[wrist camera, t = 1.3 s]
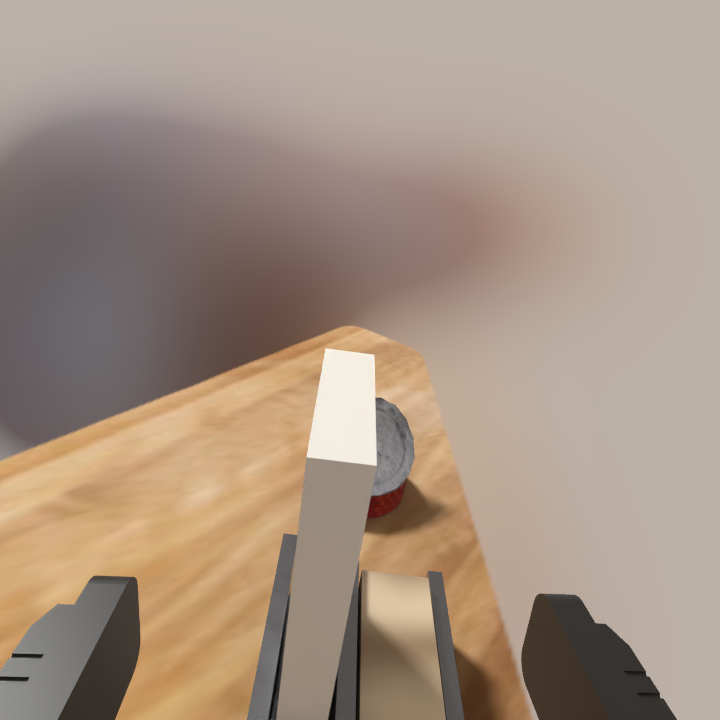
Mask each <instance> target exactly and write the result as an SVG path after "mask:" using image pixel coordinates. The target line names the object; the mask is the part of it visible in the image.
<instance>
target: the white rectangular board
mask: <svg viewBox="0 0 720 720" xmlns="http://www.w3.org/2000/svg"><path fill="white" fill-rule="evenodd" d="M376 467H377V453H376V407H375V361H374V355H371V354H364V353H356V352H349V351H341V350H333V349H325V355H324V361H323V366H322V372H321V378H320V384H319V389H318V395H317V401H316V406H315V412H314V418H313V423H312V429H311V435H310V441H309V446H308V452H307V458H306V467H305V475H304V484H303V492H302V501H301V510H300V518H299V527H298V536H297V544H296V553H295V561H294V570H293V579H292V587H291V596H290V605H289V613H288V622H287V631H286V639H285V648H284V656H283V665H282V674H281V682H280V691H279V700H278V708H277V717H276V720H328V717H329V711H330V706H331V701H332V696H333V691H334V686H335V680H336V675H337V670H338V665H339V660H340V654H341V649H342V644H343V639H344V634H345V628H346V623H347V618H348V613H349V608H350V602H351V597H352V592H353V587H354V582H355V576H356V571H357V566H358V561H359V556H360V550H361V545H362V540H363V535H364V530H365V524H366V519H367V514H368V509H369V504H370V498H371V493H372V488H373V483H374V478H375V472H376Z"/></svg>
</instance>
